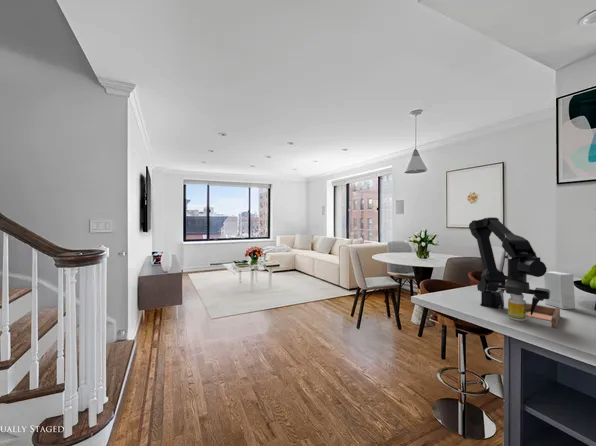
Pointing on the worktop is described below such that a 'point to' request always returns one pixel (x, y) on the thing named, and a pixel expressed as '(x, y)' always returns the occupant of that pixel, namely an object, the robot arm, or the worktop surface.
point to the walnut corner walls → (546, 312)
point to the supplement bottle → (517, 307)
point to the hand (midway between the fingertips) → (516, 312)
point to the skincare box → (560, 289)
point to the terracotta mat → (540, 316)
